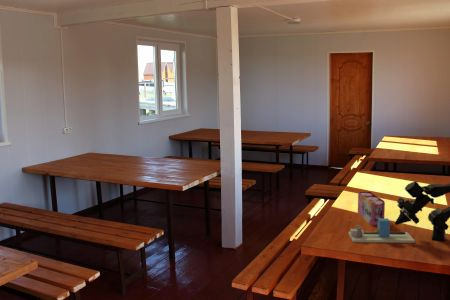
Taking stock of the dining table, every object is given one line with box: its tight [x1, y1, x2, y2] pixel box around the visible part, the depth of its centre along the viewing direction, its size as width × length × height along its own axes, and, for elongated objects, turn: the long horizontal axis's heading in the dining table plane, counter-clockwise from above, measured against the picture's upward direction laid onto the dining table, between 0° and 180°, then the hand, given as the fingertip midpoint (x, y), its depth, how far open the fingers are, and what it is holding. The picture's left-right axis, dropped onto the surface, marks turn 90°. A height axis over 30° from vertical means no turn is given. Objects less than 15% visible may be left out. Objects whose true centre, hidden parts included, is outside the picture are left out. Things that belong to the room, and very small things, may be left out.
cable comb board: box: [348, 224, 416, 244], centre depth 240 cm, size 30×12×6 cm, turn 86°
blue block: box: [376, 217, 391, 237], centre depth 240 cm, size 5×4×8 cm
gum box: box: [357, 191, 386, 226], centre depth 270 cm, size 24×8×14 cm, turn 3°
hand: (395, 224), depth 239 cm, fingers closed
